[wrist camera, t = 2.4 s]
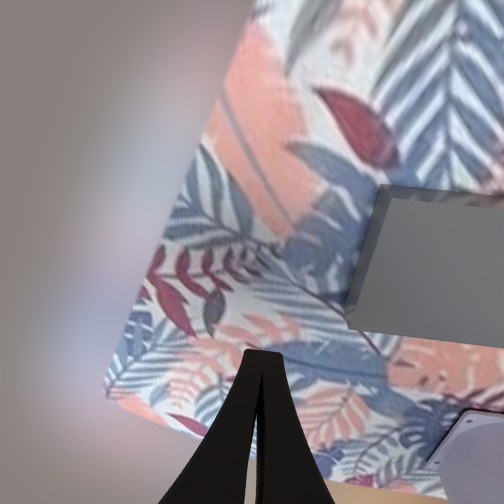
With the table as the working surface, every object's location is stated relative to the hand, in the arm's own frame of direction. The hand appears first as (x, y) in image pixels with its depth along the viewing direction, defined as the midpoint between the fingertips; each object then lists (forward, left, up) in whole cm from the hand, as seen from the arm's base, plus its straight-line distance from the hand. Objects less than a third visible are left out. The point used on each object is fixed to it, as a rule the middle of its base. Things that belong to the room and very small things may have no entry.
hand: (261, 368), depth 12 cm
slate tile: (0, -12, -10) cm, 15 cm away
